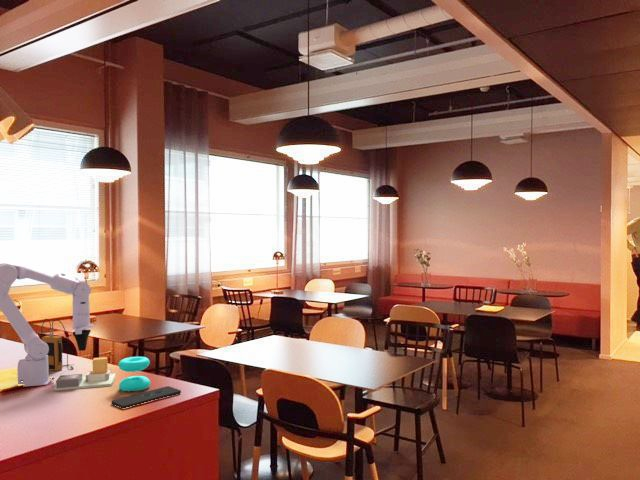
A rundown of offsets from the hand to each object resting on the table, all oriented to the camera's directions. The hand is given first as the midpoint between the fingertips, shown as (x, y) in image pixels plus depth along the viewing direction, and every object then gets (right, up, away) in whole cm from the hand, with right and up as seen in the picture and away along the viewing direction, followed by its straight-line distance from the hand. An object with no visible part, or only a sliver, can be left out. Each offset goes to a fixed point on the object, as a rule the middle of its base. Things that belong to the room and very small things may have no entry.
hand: (82, 350), depth 201 cm
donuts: (+26, -10, -18) cm, 33 cm away
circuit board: (+6, -10, -10) cm, 15 cm away
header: (+9, -9, -7) cm, 15 cm away
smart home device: (+34, -10, -30) cm, 46 cm away
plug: (+9, -8, -7) cm, 15 cm away
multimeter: (-15, -10, +13) cm, 22 cm away
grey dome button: (+2, -10, -14) cm, 17 cm away
